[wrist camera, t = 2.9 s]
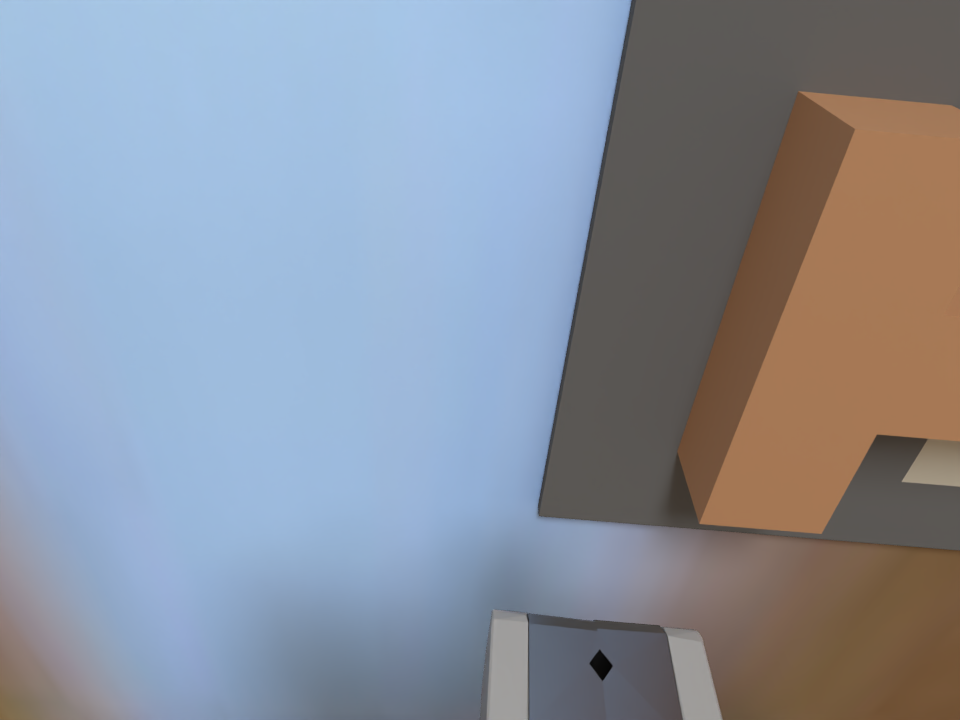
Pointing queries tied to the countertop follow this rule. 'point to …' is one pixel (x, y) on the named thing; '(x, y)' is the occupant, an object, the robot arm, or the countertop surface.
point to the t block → (833, 315)
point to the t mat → (723, 248)
